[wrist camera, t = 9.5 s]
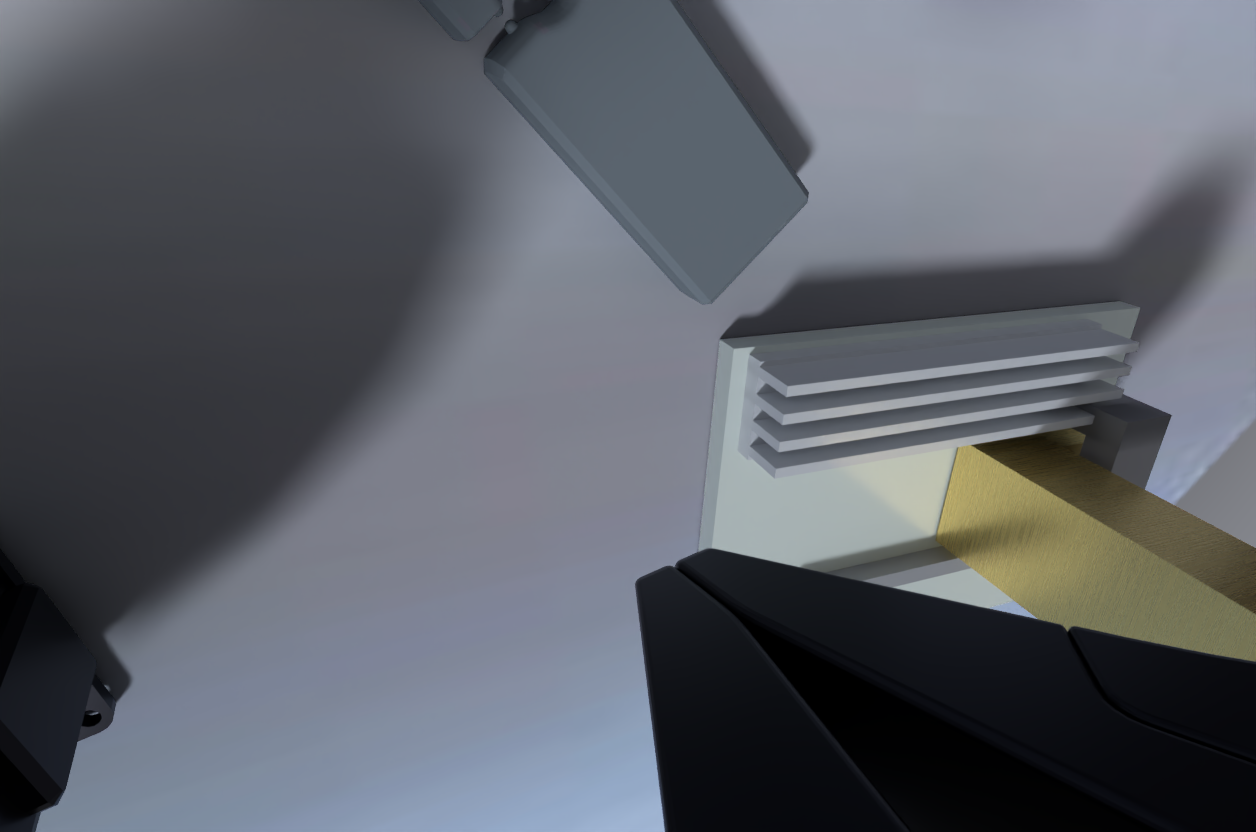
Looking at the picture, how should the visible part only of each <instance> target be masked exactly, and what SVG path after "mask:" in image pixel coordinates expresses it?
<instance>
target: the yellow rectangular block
mask: <svg viewBox="0 0 1256 832" xmlns="http://www.w3.org/2000/svg"><path fill="white" fill-rule="evenodd" d="M1085 436H1086V435H1084V434H1082V433H1080V432H1078V431H1076V430H1074V429H1072V428H1067V429H1061V430H1055V431H1049V432H1044V433H1038V434H1032V435H1026V436H1020V437H1014V438H1009V439H1003V440H997V441H991V442H985V443H979V444H974V445H968V446H962V447H958V450H957V454H956V458H955V462H954V467H953V471H952V475H951V479H950V483H949V487H948V491H947V495H946V499H945V503H944V507H943V511H942V515H941V519H940V523H939V527H938V531H937V535H936V539H935V541H937V542H938V543H939V544H941V545H942V546H943V547H945V548H946V549H947V550H948V551H950V552H951V553H952V554H954V555H955V556H956V557H958V558H959V559H960V560H962V561H963V562H964V563H965V564H967V565H968V566H969V567H971V568H972V569H973V570H975V571H976V572H977V573H979V574H980V575H981V576H983V577H984V578H985V579H986V580H988V581H989V582H990V583H992V584H993V585H994V586H996V587H997V588H998V589H1000V590H1001V591H1002V592H1003V593H1005V594H1006V595H1007V596H1009V597H1010V598H1011V599H1013V600H1014V601H1015V602H1017V603H1018V604H1019V605H1020V606H1022V607H1023V608H1024V609H1026V610H1027V611H1028V612H1030V613H1031V614H1032V615H1034V616H1035V617H1036V618H1037V619H1039V620H1043V621H1048V622H1052V623H1057V624H1061V625H1063V626H1064V627H1065V629H1066V630H1067V632H1068V629H1069V628H1070V627H1072V626H1078V627H1082V628H1087V629H1092V630H1096V631H1101V632H1105V633H1110V634H1115V635H1119V636H1124V637H1129V638H1134V639H1139V640H1144V641H1149V642H1154V643H1159V644H1164V645H1169V646H1174V647H1179V648H1184V649H1189V650H1194V651H1199V652H1204V653H1209V654H1214V655H1220V656H1226V657H1232V658H1238V659H1244V660H1250V661H1256V548H1254V547H1253V546H1251V545H1249V544H1247V543H1245V542H1243V541H1241V540H1239V539H1237V538H1235V537H1233V536H1232V535H1230V534H1228V533H1226V532H1224V531H1222V530H1220V529H1218V528H1216V527H1214V526H1213V525H1211V524H1209V523H1207V522H1205V521H1203V520H1201V519H1199V518H1197V517H1196V516H1193V515H1192V514H1190V513H1188V512H1186V511H1184V510H1182V509H1180V508H1178V507H1177V506H1175V505H1173V504H1171V503H1169V502H1167V501H1165V500H1163V499H1161V498H1160V497H1158V496H1156V495H1154V494H1152V493H1150V492H1148V491H1146V490H1144V489H1142V488H1141V487H1139V486H1137V485H1135V484H1133V483H1131V482H1129V481H1127V480H1125V479H1123V478H1122V477H1120V476H1118V475H1116V474H1114V473H1112V472H1110V471H1108V470H1106V469H1104V468H1103V467H1101V466H1099V465H1097V464H1095V463H1093V462H1091V461H1089V460H1087V459H1085V458H1084V457H1082V456H1080V451H1081V448H1082V445H1083V442H1084V439H1085Z"/></svg>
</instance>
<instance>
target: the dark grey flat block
mask: <svg viewBox="0 0 1256 832" xmlns="http://www.w3.org/2000/svg"><path fill="white" fill-rule="evenodd" d="M418 1H419V2H420V3H421V4H422V5H423V6H424V7H425V9H426V10H427V11H428V12H429V13H430V14H431V15H432V16H433V17H434V19H435V20H436V21H437V22H438V23H439V24H440V25H441V26H442V27H443V29H444V30H445V31H446V32H447V33H448V34H449V35H450V36H451V37H452V39H454V40H458V41H469V40H470V39H471V38H473V37H474V36H475V35H476V34H477V33H478V32H479V31H480V30H481V29H482V28H483V27H484V26H485V25H486V23H487V22H488V21H489V20H490V19H491V18H492V17H493V16H495V17H499V16H501V15H502V13H503V7H502V0H418ZM505 29H506V31H507V32H508V33H507V35H506V36H505V37H504V38H503V39H502V40H501V41H500V42H499V43H498V44H497V45H496V47H495V48H494V49H493V50H492V51H491V52H490V53H489V54H488V55H487V56H486V57H485V59H484V74H485V75H486V76H487V77H488V78H489V80H490V81H491V82H492V83H493V84H494V85H495V86H496V87H497V88H498V90H499V91H500V92H501V93H502V94H503V95H504V96H505V97H506V98H507V100H508V101H509V102H510V103H511V104H512V105H513V106H514V107H515V108H516V110H517V111H518V112H519V113H520V114H521V115H522V116H523V117H524V118H525V120H526V121H527V122H528V123H529V124H530V125H531V126H532V127H533V128H534V129H535V131H536V132H537V133H538V134H539V135H540V136H541V137H542V138H543V139H544V141H545V142H546V143H547V144H548V145H549V146H550V147H551V148H552V149H553V151H554V152H555V153H556V154H557V155H558V156H559V157H560V158H561V159H562V161H563V162H564V163H565V164H566V165H567V166H568V167H569V168H570V169H571V171H572V172H573V173H574V174H575V175H576V176H577V177H578V178H579V179H580V181H581V182H582V183H583V184H584V185H585V186H586V187H587V188H588V189H589V190H590V192H591V193H592V194H593V195H594V196H595V197H596V198H597V199H598V200H599V202H600V203H601V204H602V205H603V206H604V207H605V208H606V209H607V210H608V212H609V213H610V214H611V215H612V216H613V217H614V218H615V219H616V220H617V222H618V223H619V224H620V225H621V226H622V227H623V228H624V229H625V230H626V232H627V233H628V234H629V235H630V236H631V237H632V238H633V239H634V240H635V242H636V243H637V244H638V245H639V246H640V247H641V248H642V249H643V250H644V251H645V253H646V254H647V255H648V256H649V257H650V258H651V259H652V260H653V261H654V263H655V264H656V265H657V266H658V267H659V268H660V269H661V270H662V271H663V273H664V274H665V275H666V276H667V277H668V278H669V279H670V280H671V281H672V283H673V284H674V285H675V286H676V287H677V288H678V289H679V290H680V291H681V292H683V293H684V294H686V295H687V296H689V297H690V298H692V299H694V300H696V301H697V302H699V303H701V304H712V303H713V302H714V301H715V300H716V299H717V298H718V296H719V295H720V294H721V293H722V292H723V291H724V290H725V289H726V288H727V287H728V286H729V285H730V284H731V283H732V282H733V281H734V280H735V279H736V277H737V276H738V275H739V274H740V273H741V272H742V271H743V270H744V269H745V268H746V267H747V266H748V265H749V264H750V263H751V262H752V261H753V260H754V258H755V257H756V256H757V255H758V254H759V253H760V252H761V251H762V250H763V249H764V248H765V247H766V246H767V245H768V244H769V243H770V242H771V241H772V239H773V238H774V237H775V236H776V235H777V234H778V233H779V232H780V231H781V230H782V229H783V228H784V227H785V226H786V225H787V224H788V223H789V222H790V220H791V219H792V218H793V217H794V216H795V215H796V214H797V213H798V212H799V211H800V210H801V209H802V208H803V207H804V206H805V205H806V204H807V201H808V194H809V192H808V191H807V189H806V188H805V186H804V185H803V183H802V182H801V180H800V179H799V177H798V176H797V175H796V173H795V172H794V170H793V169H792V167H791V166H790V164H789V163H788V162H787V160H786V159H785V157H784V156H783V154H782V153H781V151H780V150H779V149H778V147H777V146H776V144H775V143H774V141H773V140H772V138H771V137H770V135H769V134H768V133H767V131H766V130H765V128H764V127H763V125H762V124H761V122H760V121H759V120H758V118H757V117H756V115H755V114H754V112H753V111H752V109H751V108H750V107H749V105H748V104H747V102H746V101H745V99H744V98H743V96H742V95H741V93H740V92H739V91H738V89H737V88H736V86H735V85H734V83H733V82H732V80H731V79H730V78H729V76H728V75H727V73H726V72H725V70H724V69H723V67H722V66H721V65H720V63H719V62H718V60H717V59H716V57H715V56H714V54H713V53H712V51H711V50H710V49H709V47H708V46H707V44H706V43H705V41H704V40H703V38H702V37H701V36H700V34H699V33H698V31H697V30H696V28H695V27H694V25H693V24H692V23H691V21H690V20H689V18H688V17H687V15H686V14H685V12H684V11H683V9H682V8H681V7H680V5H679V4H678V2H677V1H676V0H552V1H551V2H550V4H549V5H548V6H547V7H546V8H545V9H544V10H543V11H541V12H540V13H537V14H534V15H531V16H527V17H525V18H523V19H522V20H520V21H519V22H518V23H516V22H515V21H513V20H509V21H507V22H506V24H505Z"/></svg>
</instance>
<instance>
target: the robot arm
mask: <svg viewBox="0 0 1256 832" xmlns="http://www.w3.org/2000/svg"><path fill="white" fill-rule="evenodd" d="M635 588H636V597H637V605H638V613H639V621H640V630H641V638H642V646H643V654H644V663H645V671H646V679H647V687H648V696H649V704H650V712H651V720H652V729H653V737H654V745H655V753H656V762H657V770H658V778H659V786H660V795H661V803H662V811H663V819H664V828H665V832H1256V661H1250V660H1244V659H1238V658H1232V657H1226V656H1220V655H1214V654H1209V653H1204V652H1199V651H1194V650H1189V649H1184V648H1179V647H1174V646H1169V645H1164V644H1159V643H1154V642H1149V641H1144V640H1139V639H1134V638H1129V637H1124V636H1119V635H1115V634H1110V633H1105V632H1101V631H1096V630H1092V629H1087V628H1082V627H1078V626H1072V627H1070V628H1069V629H1068V632H1067V630H1066V629H1065V627H1064V626H1063V625H1061V624H1057V623H1052V622H1048V621H1043V620H1039V619H1034V618H1030V617H1025V616H1021V615H1016V614H1011V613H1007V612H1002V611H998V610H993V609H989V608H984V607H979V606H975V605H970V604H966V603H961V602H957V601H952V600H948V599H943V598H938V597H934V596H929V595H925V594H920V593H916V592H911V591H906V590H902V589H897V588H893V587H888V586H884V585H879V584H875V583H870V582H865V581H861V580H856V579H852V578H847V577H843V576H838V575H833V574H829V573H824V572H820V571H815V570H811V569H806V568H802V567H797V566H792V565H788V564H783V563H779V562H774V561H770V560H765V559H760V558H756V557H751V556H747V555H742V554H738V553H733V552H729V551H724V550H719V549H715V548H707V549H704V550H701V551H699V552H697V553H695V554H692V555H690V556H688V557H686V558H683V559H681V560H679V561H678V562H677V563H676V565H675V567H673V566H665V567H663V568H661V569H658V570H656V571H654V572H651V573H649V574H647V575H645V576H642V577H640V578H639V579H638V580H637V581H636V583H635ZM96 666H97V663H96V660H95V658H94V657H93V656H92V654H91V653H90V652H89V650H88V649H87V648H86V646H85V645H84V644H83V642H82V641H81V640H80V638H79V637H78V636H77V634H76V633H75V632H74V630H73V629H72V628H71V626H70V625H69V624H68V622H67V621H66V620H65V618H64V617H63V616H62V614H61V613H60V612H59V610H58V609H57V608H56V606H55V605H54V604H53V602H52V601H51V600H50V598H49V597H48V596H47V594H46V593H45V592H44V590H43V589H42V588H41V587H38V586H36V585H33V584H31V583H26V582H25V581H24V579H23V578H22V577H21V575H20V574H19V573H18V571H17V570H16V569H15V567H14V566H13V565H12V563H11V562H10V561H9V559H8V558H7V557H6V556H5V554H4V553H3V552H2V550H1V549H0V832H35V831H36V828H37V824H38V820H39V817H40V813H41V812H42V811H44V810H46V809H49V808H51V807H53V806H56V805H58V803H59V801H60V799H61V797H62V795H63V793H64V791H65V789H66V786H67V782H68V778H69V774H70V770H71V766H72V762H73V758H74V754H75V750H76V746H77V742H78V741H80V740H83V739H85V738H87V737H90V736H92V735H94V734H97V733H99V732H101V731H103V730H104V729H106V728H108V726H109V725H110V724H111V723H112V721H113V716H114V711H115V706H116V703H115V700H114V698H113V697H112V695H111V694H110V693H109V691H108V690H107V689H106V687H105V686H104V685H103V683H102V682H101V681H100V679H99V678H98V677H97V675H96V674H95V670H96ZM88 710H93V711H97V712H99V713H98V714H95V715H85V711H88Z"/></svg>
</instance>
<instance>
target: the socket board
mask: <svg viewBox="0 0 1256 832" xmlns="http://www.w3.org/2000/svg"><path fill="white" fill-rule="evenodd" d="M1139 311H1140V307H1137V306H1134V305H1130V304H1127V303H1124V302H1121V301H1116V302H1106V303H1095V304H1085V305H1074V306H1064V307H1053V308H1043V309H1032V310H1022V311H1011V312H1001V313H990V314H980V315H970V316H959V317H949V318H938V319H928V320H917V321H907V322H896V323H886V324H875V325H865V326H854V327H844V328H833V329H823V330H812V331H802V332H792V333H781V334H771V335H760V336H750V337H739V338H729V339H720V343H719V353H718V362H717V372H716V382H715V392H714V402H713V411H712V421H711V431H710V441H709V451H708V461H707V470H706V480H705V490H704V500H703V510H702V519H701V529H700V539H699V549H698V552H699V551H701V550H704V549H707V548H715V549H719V550H724V551H729V552H733V553H738V554H742V555H747V556H751V557H756V558H760V559H765V560H770V561H774V562H779V563H783V564H788V565H792V566H797V567H802V568H806V569H811V570H815V571H820V572H824V573H829V574H833V575H838V576H843V577H847V578H852V579H856V580H861V581H865V582H870V583H875V584H879V585H884V586H888V587H893V588H897V589H902V590H906V591H911V592H916V593H920V594H925V595H929V596H934V597H938V598H943V599H948V600H952V601H957V602H961V603H966V604H970V605H975V606H979V607H984V608H990V607H994V606H998V605H1001V604H1005V603H1009V602H1012V601H1014V600H1013V599H1011V598H1010V597H1009V596H1007V595H1006V594H1005V593H1003V592H1002V591H1001V590H1000V589H998V588H997V587H996V586H994V585H993V584H992V583H990V582H989V581H988V580H986V579H985V578H984V577H983V576H981V575H980V574H979V573H977V572H976V571H975V570H973V569H972V568H971V567H969V566H968V565H967V564H965V563H964V562H963V561H962V560H960V559H959V558H958V557H956V556H955V555H954V554H952V553H951V552H950V551H948V550H947V549H946V548H945V547H943V546H942V545H941V544H939V543H938V542H937V541H935V539H936V535H937V531H938V527H939V523H940V519H941V515H942V511H943V507H944V503H945V499H946V495H947V491H948V487H949V483H950V479H951V475H952V471H953V467H954V462H955V458H956V454H957V450H958V447H962V446H968V445H974V444H979V443H985V442H991V441H997V440H1003V439H1009V438H1014V437H1020V436H1026V435H1032V434H1038V433H1044V432H1049V431H1055V430H1061V429H1067V428H1072V429H1074V430H1076V431H1078V432H1080V433H1082V434H1084V435H1086V436H1085V439H1084V442H1083V445H1082V448H1081V451H1080V456H1082V457H1084V458H1085V459H1087V460H1089V461H1091V462H1093V463H1095V464H1097V465H1099V466H1101V467H1103V468H1104V469H1106V470H1108V471H1110V472H1112V473H1114V474H1116V475H1118V476H1120V477H1122V478H1123V479H1125V480H1127V481H1129V482H1131V483H1133V484H1135V485H1137V486H1139V487H1141V488H1142V489H1144V490H1145V487H1146V484H1147V481H1148V479H1149V476H1150V473H1151V470H1152V468H1153V465H1154V462H1155V459H1156V457H1157V454H1158V451H1159V449H1160V446H1161V443H1162V440H1163V438H1164V435H1165V432H1166V429H1167V427H1168V424H1169V421H1170V418H1171V416H1172V415H1170V414H1168V413H1166V412H1163V411H1161V410H1159V409H1156V408H1154V407H1152V406H1149V405H1147V404H1145V403H1142V402H1140V401H1138V400H1135V399H1133V398H1131V397H1128V396H1126V395H1124V394H1123V392H1124V389H1122V388H1119V387H1117V386H1115V385H1116V382H1117V378H1118V377H1120V376H1127V375H1129V374H1130V371H1131V368H1132V366H1129V365H1127V364H1124V363H1123V360H1124V357H1125V354H1126V353H1131V352H1137V350H1138V347H1139V344H1140V343H1139V342H1136V341H1134V340H1131V336H1132V333H1133V329H1134V326H1135V323H1136V320H1137V317H1138V314H1139Z"/></svg>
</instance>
